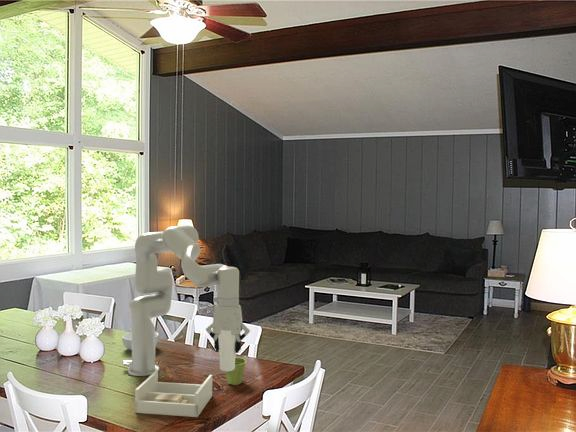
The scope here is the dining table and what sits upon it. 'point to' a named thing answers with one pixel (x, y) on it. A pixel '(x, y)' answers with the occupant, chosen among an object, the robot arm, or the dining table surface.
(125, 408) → the dining table surface
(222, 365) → the drinking glass
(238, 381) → the plant pot
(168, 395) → the offcut stack
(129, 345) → the cereal bowl
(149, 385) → the tray
